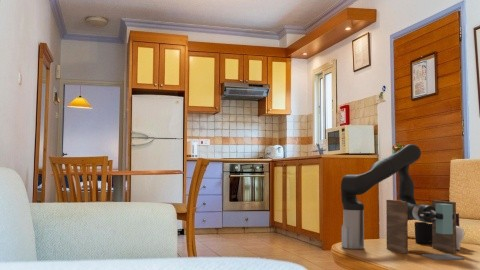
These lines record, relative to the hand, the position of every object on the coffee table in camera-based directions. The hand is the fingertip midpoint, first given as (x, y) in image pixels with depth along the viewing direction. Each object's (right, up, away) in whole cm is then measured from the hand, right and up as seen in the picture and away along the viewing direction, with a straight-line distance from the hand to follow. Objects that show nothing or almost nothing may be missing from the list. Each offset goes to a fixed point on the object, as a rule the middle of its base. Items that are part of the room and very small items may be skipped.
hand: (448, 216), depth 206 cm
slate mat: (-2, -17, +1) cm, 17 cm away
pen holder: (+7, -21, +47) cm, 52 cm away
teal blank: (-1, -7, +2) cm, 8 cm away
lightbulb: (+13, -19, +22) cm, 32 cm away
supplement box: (+16, -20, +36) cm, 44 cm away
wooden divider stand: (-4, -18, +19) cm, 27 cm away
